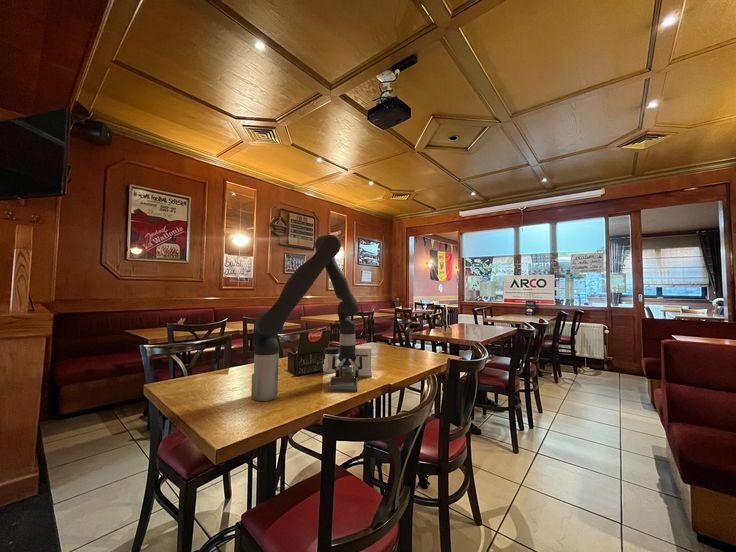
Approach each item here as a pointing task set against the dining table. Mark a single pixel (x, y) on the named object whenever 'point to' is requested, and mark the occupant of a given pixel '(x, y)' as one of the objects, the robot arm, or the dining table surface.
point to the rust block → (341, 370)
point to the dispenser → (363, 361)
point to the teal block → (347, 372)
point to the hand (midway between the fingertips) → (347, 378)
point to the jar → (330, 359)
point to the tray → (343, 385)
